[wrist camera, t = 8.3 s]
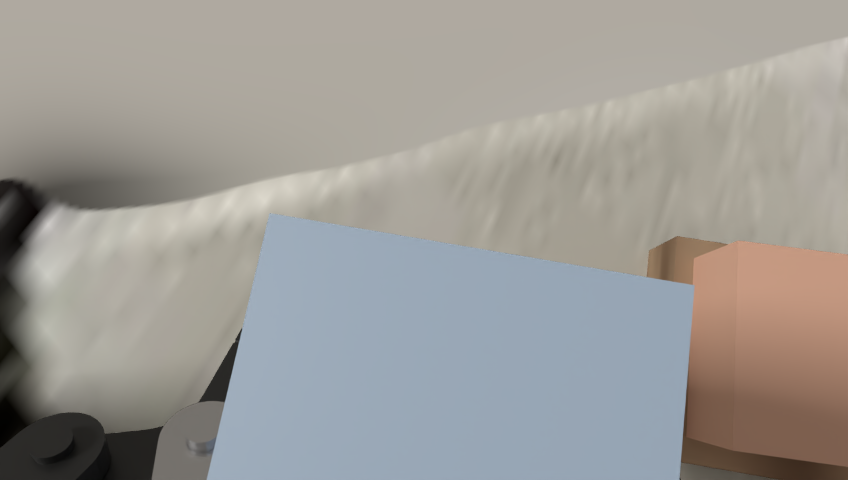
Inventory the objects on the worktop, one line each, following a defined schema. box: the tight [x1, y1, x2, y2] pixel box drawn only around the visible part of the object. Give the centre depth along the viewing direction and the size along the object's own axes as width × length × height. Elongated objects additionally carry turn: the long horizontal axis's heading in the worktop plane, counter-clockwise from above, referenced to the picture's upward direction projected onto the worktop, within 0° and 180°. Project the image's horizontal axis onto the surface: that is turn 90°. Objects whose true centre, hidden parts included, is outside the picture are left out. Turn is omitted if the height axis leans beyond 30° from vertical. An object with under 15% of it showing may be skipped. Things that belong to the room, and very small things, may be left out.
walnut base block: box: [647, 236, 848, 480], centre depth 28 cm, size 10×10×4 cm
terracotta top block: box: [686, 241, 848, 467], centre depth 24 cm, size 8×8×4 cm
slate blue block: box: [207, 213, 695, 480], centre depth 11 cm, size 5×5×10 cm
